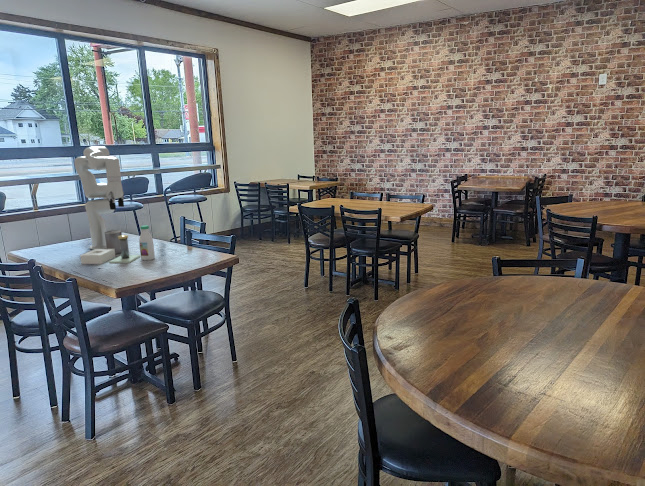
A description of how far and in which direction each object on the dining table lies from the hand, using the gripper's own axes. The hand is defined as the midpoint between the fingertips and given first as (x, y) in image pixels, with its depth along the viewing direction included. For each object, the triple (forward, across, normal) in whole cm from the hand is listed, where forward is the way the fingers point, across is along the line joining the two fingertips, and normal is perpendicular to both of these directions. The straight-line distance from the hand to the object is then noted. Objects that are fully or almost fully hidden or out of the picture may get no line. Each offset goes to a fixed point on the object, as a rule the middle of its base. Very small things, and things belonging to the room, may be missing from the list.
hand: (117, 208), depth 270 cm
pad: (+30, +8, +6) cm, 31 cm away
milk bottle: (+30, +6, +19) cm, 35 cm away
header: (+30, +8, -10) cm, 33 cm away
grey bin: (+31, -10, -9) cm, 34 cm away
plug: (+29, +7, +6) cm, 30 cm away
